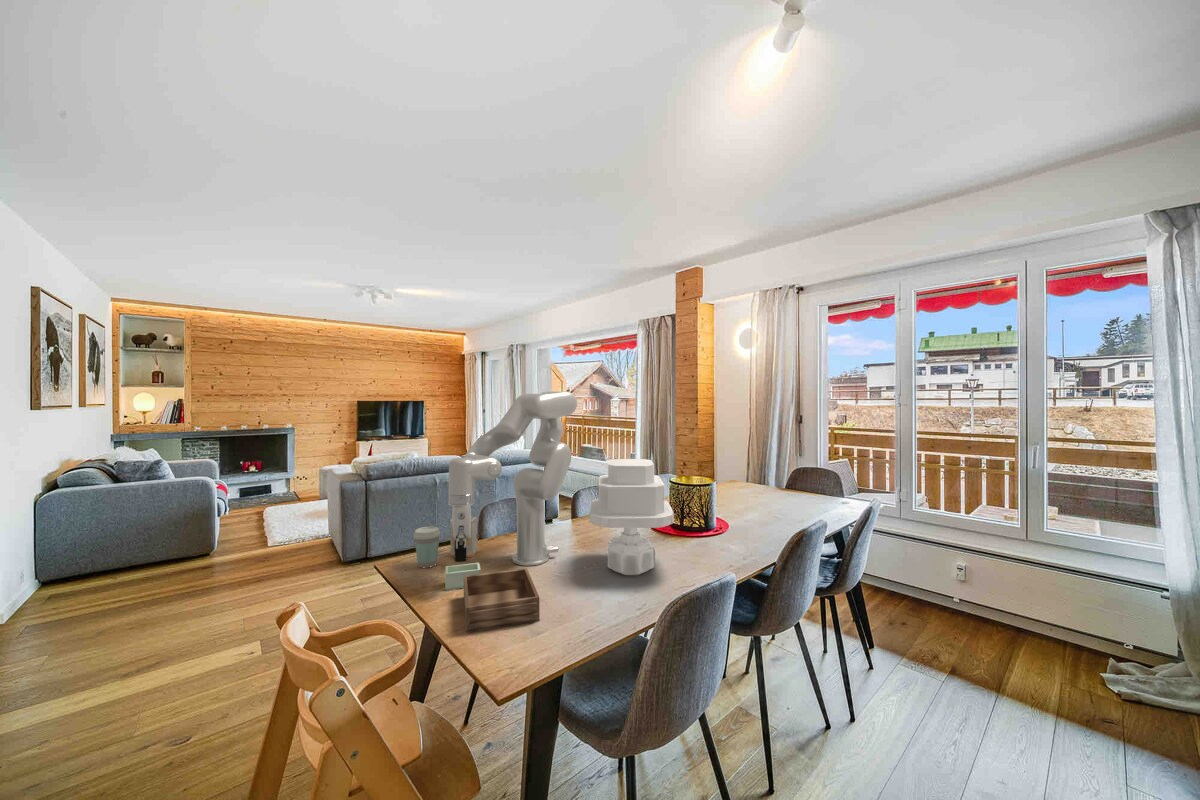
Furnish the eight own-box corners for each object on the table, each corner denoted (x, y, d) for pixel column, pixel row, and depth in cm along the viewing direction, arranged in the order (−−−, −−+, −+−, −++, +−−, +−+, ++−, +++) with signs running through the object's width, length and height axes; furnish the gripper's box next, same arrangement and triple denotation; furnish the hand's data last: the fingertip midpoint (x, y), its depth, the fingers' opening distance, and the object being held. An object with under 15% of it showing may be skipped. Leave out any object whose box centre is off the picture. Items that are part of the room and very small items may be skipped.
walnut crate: (527, 588, 136) (526, 568, 136) (540, 622, 116) (540, 598, 116) (463, 597, 130) (463, 576, 130) (466, 634, 110) (465, 609, 110)
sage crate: (479, 578, 143) (479, 562, 143) (480, 586, 137) (480, 569, 137) (445, 582, 140) (445, 566, 140) (445, 590, 134) (445, 573, 134)
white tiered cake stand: (676, 585, 138) (677, 469, 137) (588, 584, 138) (587, 469, 137) (665, 553, 164) (665, 456, 164) (591, 553, 165) (591, 456, 164)
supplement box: (477, 552, 166) (477, 516, 165) (472, 557, 161) (472, 520, 161) (455, 552, 166) (455, 516, 166) (450, 557, 162) (449, 520, 161)
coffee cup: (446, 562, 157) (445, 527, 157) (429, 571, 149) (428, 534, 149) (425, 559, 160) (425, 524, 159) (407, 568, 152) (407, 532, 151)
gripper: (475, 504, 131) (474, 564, 131) (472, 493, 147) (471, 546, 147) (448, 506, 129) (446, 567, 128) (448, 494, 145) (447, 548, 145)
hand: (460, 556), depth 138 cm, fingers open, 9 cm apart
